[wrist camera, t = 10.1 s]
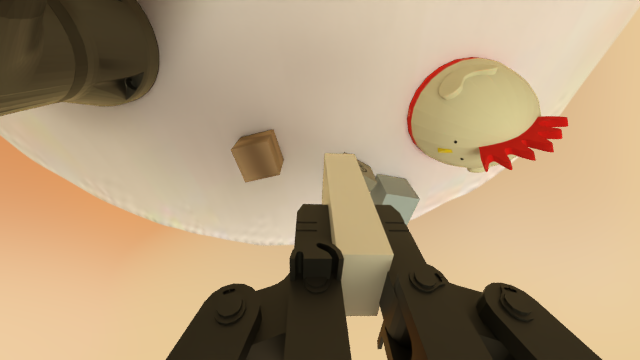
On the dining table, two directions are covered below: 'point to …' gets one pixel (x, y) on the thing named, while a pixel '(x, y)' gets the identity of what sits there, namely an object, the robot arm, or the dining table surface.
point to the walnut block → (258, 156)
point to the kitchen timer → (479, 116)
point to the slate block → (395, 195)
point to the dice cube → (367, 175)
